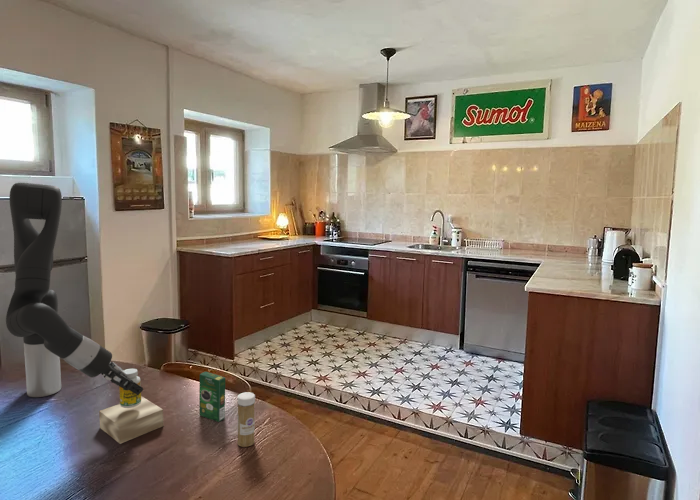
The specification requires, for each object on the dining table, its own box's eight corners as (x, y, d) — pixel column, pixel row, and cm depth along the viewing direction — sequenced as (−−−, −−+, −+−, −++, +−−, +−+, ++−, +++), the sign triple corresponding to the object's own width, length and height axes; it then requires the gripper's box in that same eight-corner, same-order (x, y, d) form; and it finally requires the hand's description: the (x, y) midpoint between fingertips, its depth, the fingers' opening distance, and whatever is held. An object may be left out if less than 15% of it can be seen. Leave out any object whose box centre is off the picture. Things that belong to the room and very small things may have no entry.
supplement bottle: (139, 398, 129) (138, 366, 127) (142, 405, 124) (142, 372, 123) (118, 402, 126) (117, 369, 124) (121, 410, 121) (120, 376, 120)
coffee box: (226, 418, 132) (226, 376, 130) (219, 423, 130) (219, 379, 128) (206, 412, 136) (205, 370, 134) (198, 416, 133) (198, 373, 131)
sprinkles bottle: (245, 449, 117) (245, 400, 115) (233, 443, 119) (233, 395, 118) (258, 441, 121) (258, 394, 119) (246, 436, 123) (246, 389, 121)
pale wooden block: (99, 427, 125) (99, 410, 124) (142, 412, 134) (141, 396, 134) (120, 443, 118) (119, 426, 117) (163, 426, 127) (163, 409, 126)
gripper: (105, 352, 112) (155, 385, 122) (91, 337, 123) (139, 368, 132) (82, 377, 109) (135, 409, 119) (70, 359, 120) (120, 390, 130)
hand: (137, 387), depth 126 cm, fingers closed on supplement bottle, 5 cm apart
